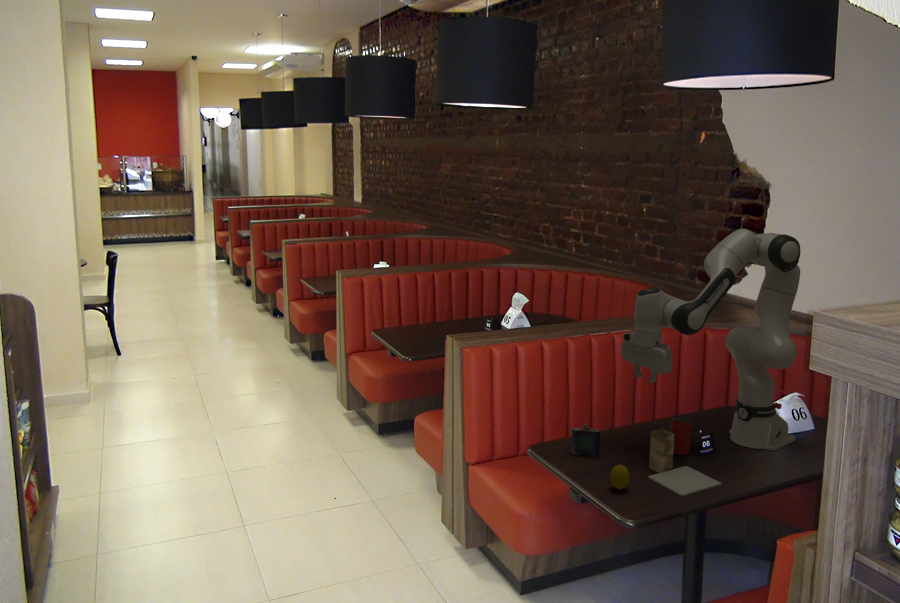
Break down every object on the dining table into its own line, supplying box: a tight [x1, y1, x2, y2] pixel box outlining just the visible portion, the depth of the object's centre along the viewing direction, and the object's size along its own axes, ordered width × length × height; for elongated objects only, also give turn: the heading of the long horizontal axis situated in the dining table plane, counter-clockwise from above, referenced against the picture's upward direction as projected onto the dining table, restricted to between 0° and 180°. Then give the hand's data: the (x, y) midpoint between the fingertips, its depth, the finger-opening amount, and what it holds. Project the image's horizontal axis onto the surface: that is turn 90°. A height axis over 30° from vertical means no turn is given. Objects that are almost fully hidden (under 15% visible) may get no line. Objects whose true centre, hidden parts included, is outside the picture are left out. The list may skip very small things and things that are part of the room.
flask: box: [570, 423, 601, 458], centre depth 234 cm, size 9×3×11 cm, turn 76°
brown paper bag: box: [648, 428, 674, 474], centre depth 223 cm, size 5×5×12 cm
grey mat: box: [647, 465, 723, 498], centre depth 215 cm, size 16×14×1 cm
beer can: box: [669, 414, 692, 456], centre depth 235 cm, size 7×7×12 cm
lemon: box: [609, 464, 630, 491], centre depth 209 cm, size 6×6×8 cm
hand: (645, 379), depth 232 cm, fingers open, 5 cm apart
